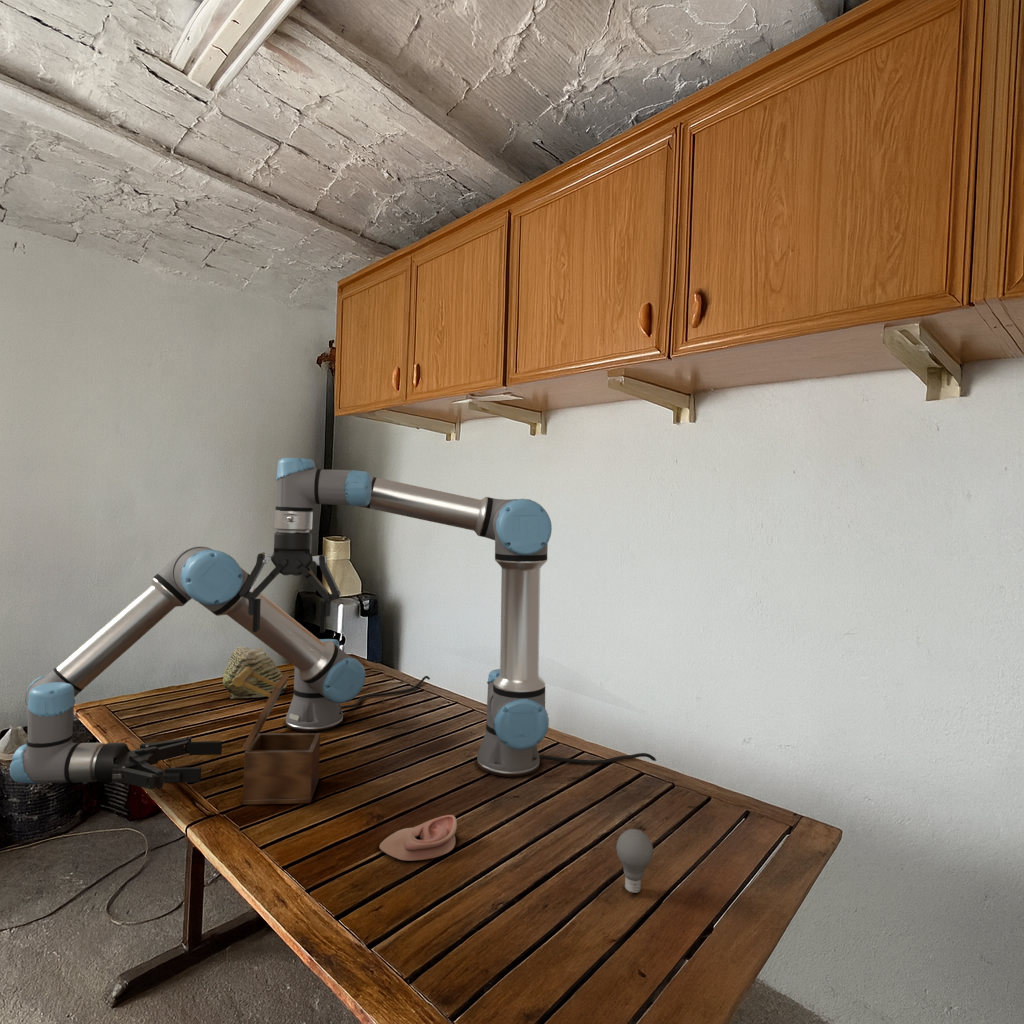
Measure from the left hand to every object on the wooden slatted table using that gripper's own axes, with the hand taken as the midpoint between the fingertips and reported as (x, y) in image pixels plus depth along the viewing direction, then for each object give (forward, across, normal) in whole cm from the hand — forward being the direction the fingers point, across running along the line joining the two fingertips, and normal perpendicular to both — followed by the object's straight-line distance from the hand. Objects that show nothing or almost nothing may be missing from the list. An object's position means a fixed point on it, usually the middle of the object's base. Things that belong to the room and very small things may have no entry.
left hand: (211, 760), depth 133 cm
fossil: (-7, -67, -7) cm, 68 cm away
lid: (+11, 0, +10) cm, 15 cm away
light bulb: (+79, +39, -7) cm, 88 cm away
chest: (+14, 0, -7) cm, 16 cm away
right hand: (+15, 0, +28) cm, 31 cm away
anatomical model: (+43, +23, -7) cm, 49 cm away
